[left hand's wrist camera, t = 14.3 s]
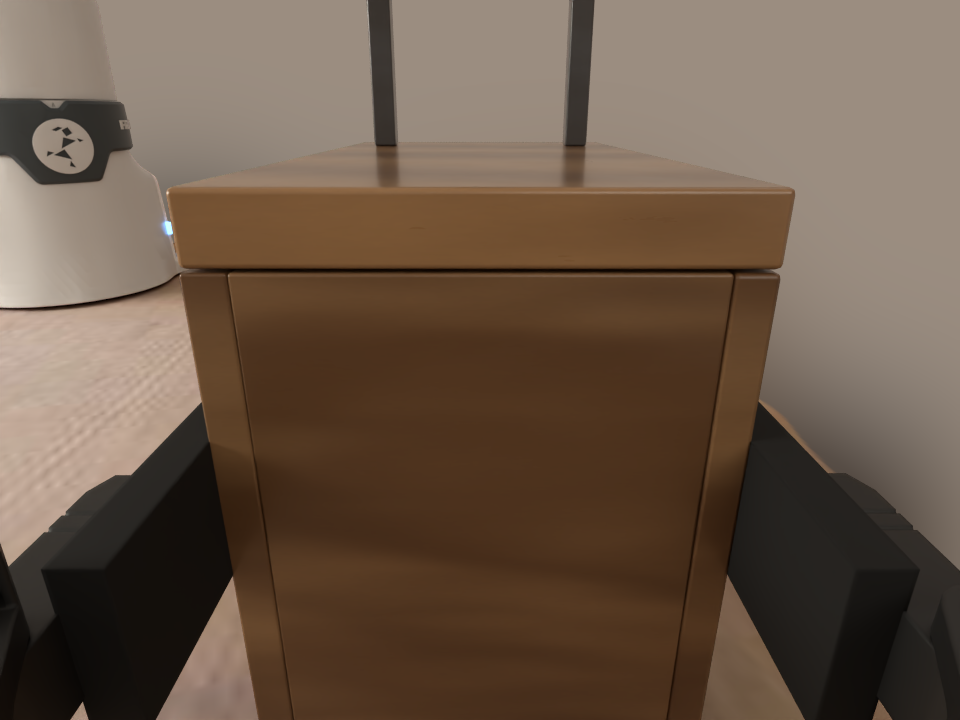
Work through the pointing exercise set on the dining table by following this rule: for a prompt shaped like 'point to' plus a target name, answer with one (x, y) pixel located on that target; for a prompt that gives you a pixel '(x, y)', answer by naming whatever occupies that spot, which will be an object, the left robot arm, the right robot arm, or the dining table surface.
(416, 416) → the chest
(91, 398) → the dining table surface
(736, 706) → the dining table surface
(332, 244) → the lid
